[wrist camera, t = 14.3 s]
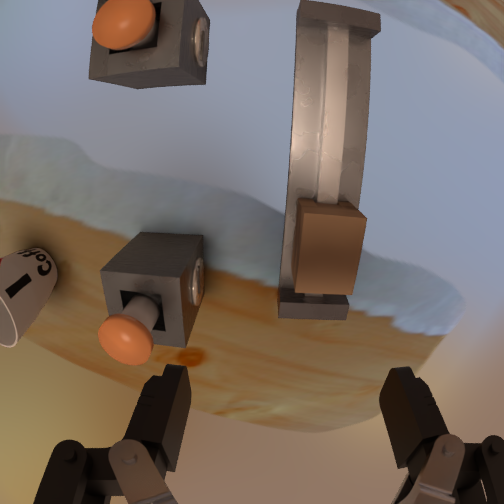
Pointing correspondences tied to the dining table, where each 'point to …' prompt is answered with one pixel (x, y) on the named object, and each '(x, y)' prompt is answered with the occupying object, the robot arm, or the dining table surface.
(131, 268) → the cabinet
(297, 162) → the rail
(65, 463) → the robot arm
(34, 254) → the cup
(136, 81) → the cabinet
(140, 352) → the plunger
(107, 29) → the plunger
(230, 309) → the dining table surface
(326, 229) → the carriage
